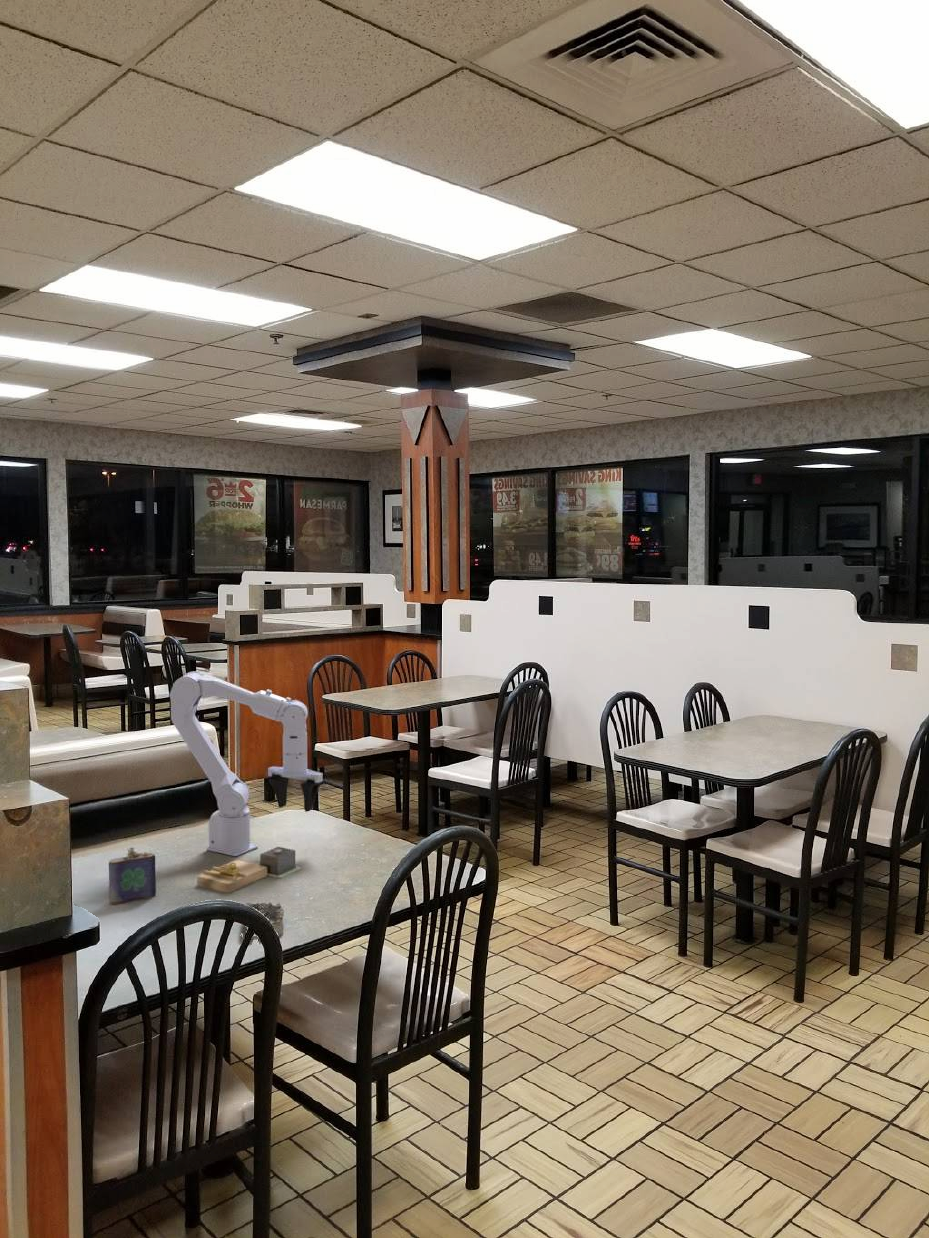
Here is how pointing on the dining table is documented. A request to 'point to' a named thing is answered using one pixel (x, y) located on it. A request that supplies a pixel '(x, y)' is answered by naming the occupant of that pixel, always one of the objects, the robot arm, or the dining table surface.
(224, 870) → the bolt
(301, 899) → the dining table surface
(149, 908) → the dining table surface
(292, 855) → the metal box with knob
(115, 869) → the flask
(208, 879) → the wooden tray with rails
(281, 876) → the mat
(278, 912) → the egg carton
